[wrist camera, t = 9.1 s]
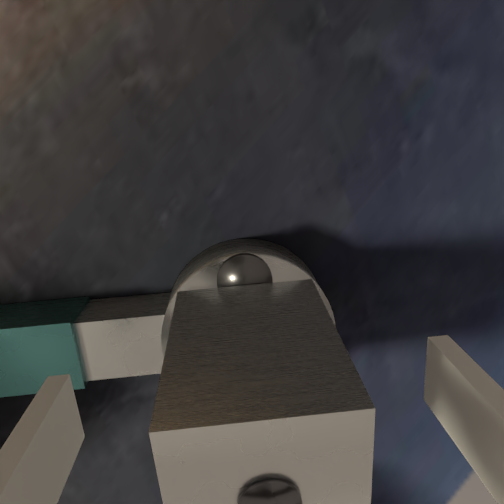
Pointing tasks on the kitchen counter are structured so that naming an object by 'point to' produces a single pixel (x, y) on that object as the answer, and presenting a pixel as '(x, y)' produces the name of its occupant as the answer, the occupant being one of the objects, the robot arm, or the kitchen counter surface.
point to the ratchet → (125, 320)
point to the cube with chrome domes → (260, 402)
